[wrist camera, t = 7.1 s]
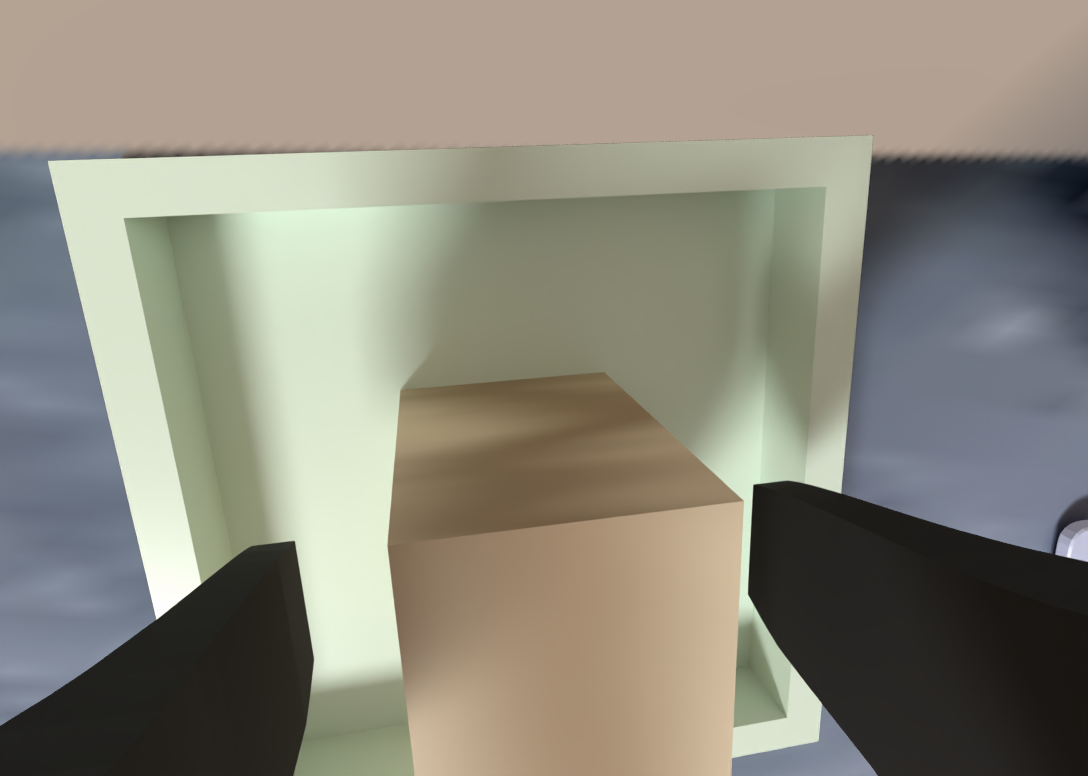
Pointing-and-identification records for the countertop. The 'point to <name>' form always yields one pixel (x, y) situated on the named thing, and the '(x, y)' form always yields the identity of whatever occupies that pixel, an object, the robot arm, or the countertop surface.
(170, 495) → the tray
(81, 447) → the countertop surface
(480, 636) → the block
